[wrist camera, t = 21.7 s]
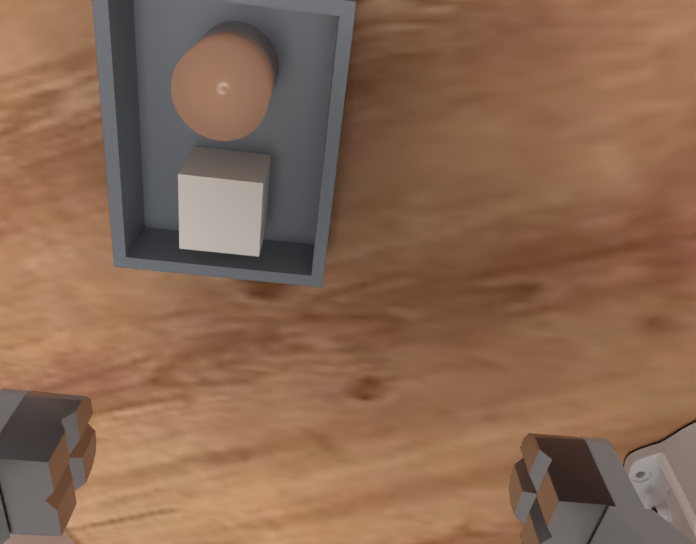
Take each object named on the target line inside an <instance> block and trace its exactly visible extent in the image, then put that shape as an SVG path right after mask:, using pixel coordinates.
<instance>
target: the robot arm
mask: <svg viewBox="0 0 696 544" xmlns="http://www.w3.org/2000/svg"><path fill="white" fill-rule="evenodd" d="M92 414H93V410H92V404H91V399H90V398H88V397H85V396H76V395H67V394H57V393H48V392H39V391H23V390H15V389H6V388H3V389H1V390H0V544H3V543H4V542H5V541H6V540H7V539H9V538H10V534H20V535H45V536H62V534H63V532H64V530H65V528H66V525H67V523H68V521H69V519H70V517H71V515H72V512H73V510H74V508H75V506H76V497H75V490H76V489H78V488H79V487H81V486H82V485H83V484H85V483H86V481H87V479H88V477H89V474H90V472H91V469H92V465H93V461H94V457H95V453H96V434H95V430H94V429H93V428H92V427H91V426H90V425H89V424H88V422H89V420H90V418H91V416H92ZM520 448H521V451H522V454H523V457H524V458H522V459H521V460H520V461H518V462H517V463H515V464H514V467H513V470H512V473H511V476H510V487H509V494H510V502H511V506H512V510H513V513H514V515H515V516H516V517H517V518H518V519H519V520H520V521H521V522H522V523H523V524H524V526H523V529H522V531H521V534H520V538H521V541H522V544H696V423H693V424H691V425H689V426H687V427H686V428H684V429H682V430H680V431H679V432H677V433H676V434H674V435H673V436H671V437H670V438H668V439H666V440H664V441H662V442H660V443H658V444H655V445H651V446H648V447H645V448H642V449H639V450H637V451H635V452H633V453H631V454H630V455H629V456H628V457H627V458H626V460H625V464H624V467H623V465H622V463H621V462H620V460H619V458H618V456H617V454H616V452H615V450H614V448H613V446H612V444H611V443H610V442H609V441H608V440H607V439H602V438H587V437H579V438H578V437H571V436H558V435H544V434H531V433H528V435H527V436H526V437H525V438H524V440H523V442H522V445H521V447H520Z"/></svg>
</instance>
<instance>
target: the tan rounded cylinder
mask: <svg viewBox="0 0 696 544" xmlns="http://www.w3.org/2000/svg"><path fill="white" fill-rule="evenodd" d="M277 75H278V58H277V54H276V51H275V49H274V46H273V45H272V43H271V41H270V40H269V39H268V37H267V36H266V35H265V34H264V33H263V32H262V31H260V30H259V29H258V28H256V27H255V26H253V25H250V24H248V23H245V22H240V21H228V22H223V23H220V24H218V25H216V26H214V27H213V28H211V29H210V30H209V31H208V32H207V33H206V34H205V35H204V36H203V37H202V38H201V39H200V40H199V41H198V42H197V43H196V44H195V45H194V46H193V47H192V48H191V49H190V50H189V51H188V52H187V53H186V54H185V55H184V56H183V57H182V58H181V59H180V61H179V62H178V64H177V65H176V67H175V69H174V72H173V75H172V80H171V95H172V100H173V103H174V106H175V108H176V110H177V112H178V114H179V116H180V117H181V119H182V120H183V121H184V122H185V123H186V125H188V126H189V127H190V128H191V129H192V130H194V131H195V132H196V133H198V134H200V135H202V136H204V137H206V138H209V139H212V140H218V141H232V140H237V139H240V138H242V137H245V136H247V135H248V134H250V133H251V132H253V131H254V130H255V129H256V128H257V127H258V126H259V124H260V123H261V122H262V120H263V118H264V116H265V114H266V111H267V108H268V105H269V102H270V98H271V95H272V92H273V89H274V86H275V82H276V79H277Z"/></svg>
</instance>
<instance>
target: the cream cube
mask: <svg viewBox="0 0 696 544" xmlns="http://www.w3.org/2000/svg"><path fill="white" fill-rule="evenodd" d="M270 170H271V155H269V154H260V153H251V152H242V151H233V150H224V149H216V148H207V147H198V146H195V148H194V149H193V151H192V152H191V154H190V156H189V157H188V159H187V160H186V162H185V164H184V165H183V167H182V168H181V170H180V171H179V173H178V205H179V249H188V250H198V251H208V252H218V253H228V254H238V255H248V256H258V257H259V255H260V251H261V247H262V242H263V238H264V234H265V230H266V226H267V219H268V203H269V186H270Z"/></svg>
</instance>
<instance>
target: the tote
mask: <svg viewBox="0 0 696 544" xmlns="http://www.w3.org/2000/svg"><path fill="white" fill-rule="evenodd" d="M92 4H93V16H94V28H95V40H96V52H97V65H98V77H99V89H100V101H101V113H102V125H103V137H104V149H105V162H106V174H107V186H108V198H109V210H110V222H111V234H112V246H113V258H114V267H122V268H132V269H142V270H152V271H162V272H172V273H183V274H193V275H203V276H213V277H223V278H233V279H243V280H254V281H264V282H274V283H284V284H294V285H304V286H314V287H322V286H323V277H324V269H325V261H326V252H327V244H328V235H329V227H330V219H331V210H332V202H333V193H334V185H335V176H336V168H337V160H338V151H339V143H340V134H341V126H342V118H343V109H344V101H345V92H346V84H347V76H348V67H349V59H350V50H351V42H352V34H353V25H354V17H355V8H356V0H92ZM228 21H240V22H245V23H248V24H250V25H253V26H255V27H256V28H258V29H259V30H260V31H262V32H263V33H264V34H265V35H266V36H267V37H268V39H269V40H270V41H271V43H272V45H273V46H274V49H275V51H276V54H277V58H278V75H277V79H276V82H275V86H274V89H273V92H272V95H271V98H270V102H269V105H268V108H267V111H266V114H265V116H264V118H263V120H262V122H261V123H260V124H259V126H258V127H257V128H256V129H255V130H254V131H253V132H251V133H250V134H248V135H247V136H245V137H242V138H240V139H237V140H232V141H218V140H212V139H209V138H206V137H204V136H202V135H200V134H198V133H196V132H195V131H194V130H192V129H191V128H190V127H189V126H188V125H186V123H185V122H184V121H183V120H182V119H181V117H180V116H179V114H178V112H177V110H176V108H175V106H174V103H173V100H172V95H171V80H172V75H173V72H174V69H175V67H176V65H177V64H178V62H179V61H180V59H181V58H182V57H183V56H184V55H185V54H186V53H187V52H188V51H189V50H190V49H191V48H192V47H193V46H194V45H195V44H196V43H197V42H198V41H199V40H200V39H201V38H202V37H203V36H204V35H205V34H206V33H207V32H208V31H209V30H210V29H211V28H213V27H214V26H216V25H218V24H220V23H223V22H228ZM195 146H198V147H207V148H216V149H224V150H233V151H242V152H251V153H260V154H269V155H271V170H270V186H269V203H268V219H267V226H266V230H265V234H264V238H263V242H262V247H261V251H260V255H259V257H258V256H248V255H238V254H228V253H218V252H208V251H198V250H188V249H179V205H178V173H179V171H180V170H181V168H182V167H183V165H184V164H185V162H186V160H187V159H188V157H189V156H190V154H191V152H192V151H193V149H194V148H195Z"/></svg>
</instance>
